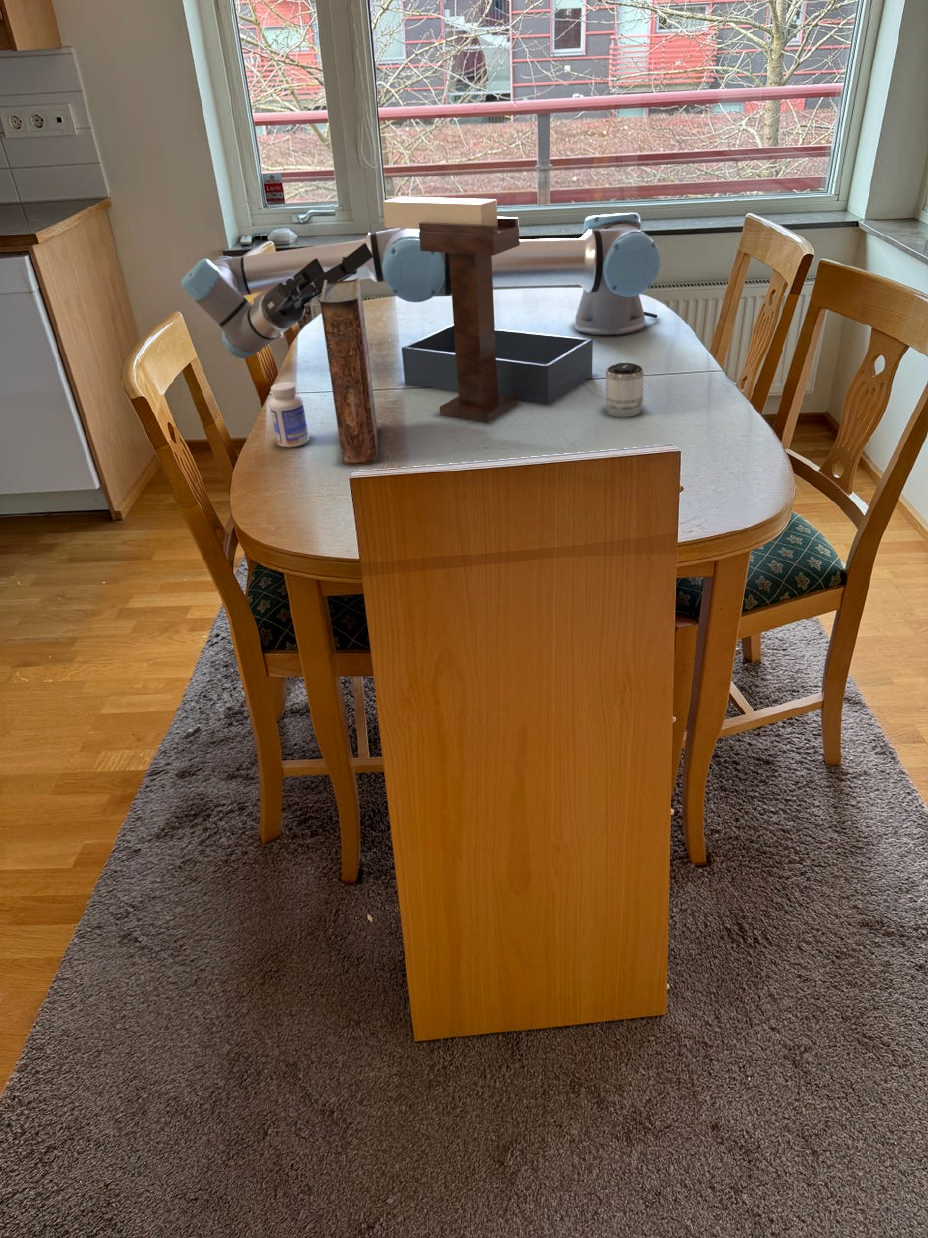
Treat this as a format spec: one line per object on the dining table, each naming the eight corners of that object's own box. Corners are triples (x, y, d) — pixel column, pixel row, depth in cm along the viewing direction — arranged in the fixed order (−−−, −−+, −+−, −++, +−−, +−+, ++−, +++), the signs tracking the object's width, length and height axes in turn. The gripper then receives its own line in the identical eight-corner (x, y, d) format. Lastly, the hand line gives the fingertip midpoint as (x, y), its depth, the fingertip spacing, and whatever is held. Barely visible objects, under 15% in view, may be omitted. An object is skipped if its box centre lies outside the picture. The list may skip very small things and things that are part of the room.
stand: (527, 405, 162) (522, 216, 145) (498, 424, 155) (489, 227, 138) (461, 395, 169) (449, 213, 152) (430, 413, 162) (414, 224, 145)
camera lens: (646, 406, 158) (648, 361, 153) (636, 419, 153) (638, 373, 149) (611, 403, 160) (612, 359, 156) (600, 415, 155) (601, 370, 151)
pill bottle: (314, 437, 155) (305, 381, 150) (299, 449, 151) (290, 391, 146) (286, 435, 157) (276, 379, 152) (271, 447, 153) (260, 390, 148)
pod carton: (498, 226, 146) (496, 199, 143) (482, 232, 142) (480, 204, 140) (402, 222, 155) (399, 196, 153) (385, 227, 151) (382, 201, 149)
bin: (592, 376, 174) (592, 339, 170) (548, 405, 161) (547, 366, 158) (454, 358, 189) (452, 324, 185) (404, 383, 177) (401, 347, 173)
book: (377, 463, 144) (357, 300, 130) (342, 466, 144) (319, 303, 130) (377, 426, 158) (359, 275, 144) (345, 429, 157) (324, 278, 144)
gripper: (329, 312, 186) (396, 262, 171) (242, 345, 169) (308, 293, 154) (311, 278, 184) (377, 225, 170) (221, 308, 167) (286, 251, 153)
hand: (344, 257), depth 162 cm, fingers open, 13 cm apart
